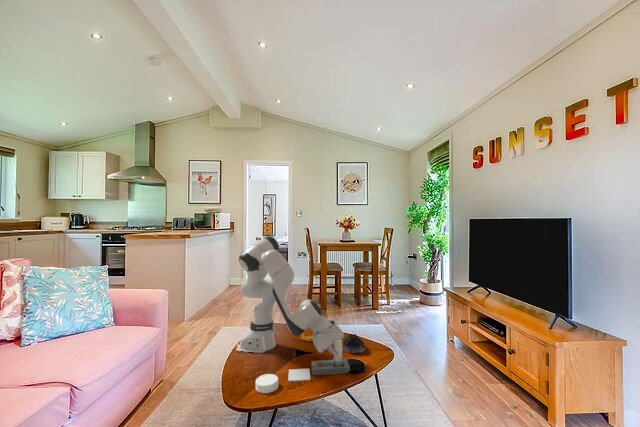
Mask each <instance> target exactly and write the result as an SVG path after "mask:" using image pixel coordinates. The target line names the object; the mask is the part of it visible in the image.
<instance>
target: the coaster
mask: <svg viewBox="0 0 640 427" xmlns="http://www.w3.org/2000/svg"><path fill="white" fill-rule="evenodd" d="M279 380H280V379H279V377H278V376H277V375H276V374H272V373H265V374H262V375H259V376H258V377H257V378H256V379H255V390H256V391H257V392H258V393H259V392H260V393H259V394H270V392H271V393H272V392H275V391H276V390H277V389H278V388H279V386H280V385H279V383H280V382H279Z"/></svg>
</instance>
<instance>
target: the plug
mask: <svg viewBox="0 0 640 427" xmlns="http://www.w3.org/2000/svg"><path fill="white" fill-rule="evenodd" d="M342 348H343V339H335V340H334V345H333V349H334V350H336V351H337V352H338V354H337V355H336V356H334V355H333V358H332V360H333V363H334V367H337V366H343V363H344V359H345V358H343V350H342Z"/></svg>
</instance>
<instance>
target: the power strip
mask: <svg viewBox="0 0 640 427" xmlns="http://www.w3.org/2000/svg"><path fill="white" fill-rule="evenodd" d="M343 359H344V363H343V365H344V366H337V367H334V363H333V359H327V360H326V359H325V360H324V359H322V360H311V361H310V362H311V363H310V364H311V365H310V366H311V375H312V376H323V375H324V376H325V375H341V374H342V375H343V374H344V375H345V374H349V373H348V372H349V371H350V372H351V366H350V364H349V361H348V359H347V358H343Z"/></svg>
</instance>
